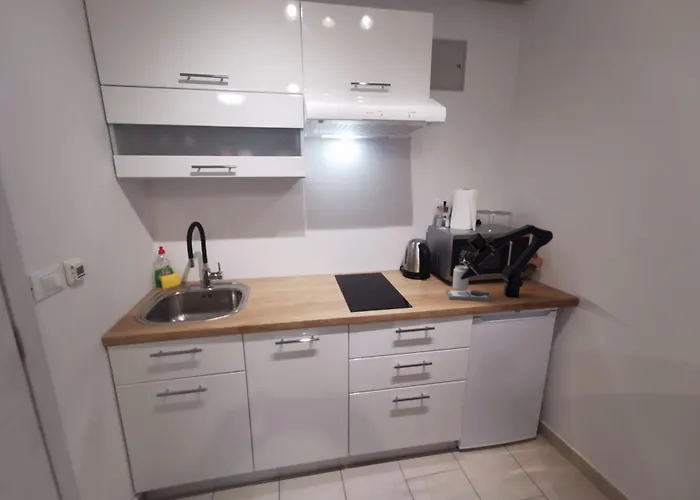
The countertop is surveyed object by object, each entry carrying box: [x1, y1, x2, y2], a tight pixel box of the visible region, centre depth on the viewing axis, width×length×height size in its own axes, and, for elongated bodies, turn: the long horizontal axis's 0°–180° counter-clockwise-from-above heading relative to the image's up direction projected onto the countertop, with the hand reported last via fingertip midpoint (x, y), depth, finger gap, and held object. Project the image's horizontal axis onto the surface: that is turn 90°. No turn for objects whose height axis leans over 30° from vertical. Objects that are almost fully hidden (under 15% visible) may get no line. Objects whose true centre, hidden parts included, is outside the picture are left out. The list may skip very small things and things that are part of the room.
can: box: [452, 265, 470, 291], centre depth 169 cm, size 8×8×12 cm
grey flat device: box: [445, 289, 491, 302], centre depth 170 cm, size 21×10×3 cm, turn 84°
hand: (458, 276), depth 168 cm, fingers closed on can, 7 cm apart
